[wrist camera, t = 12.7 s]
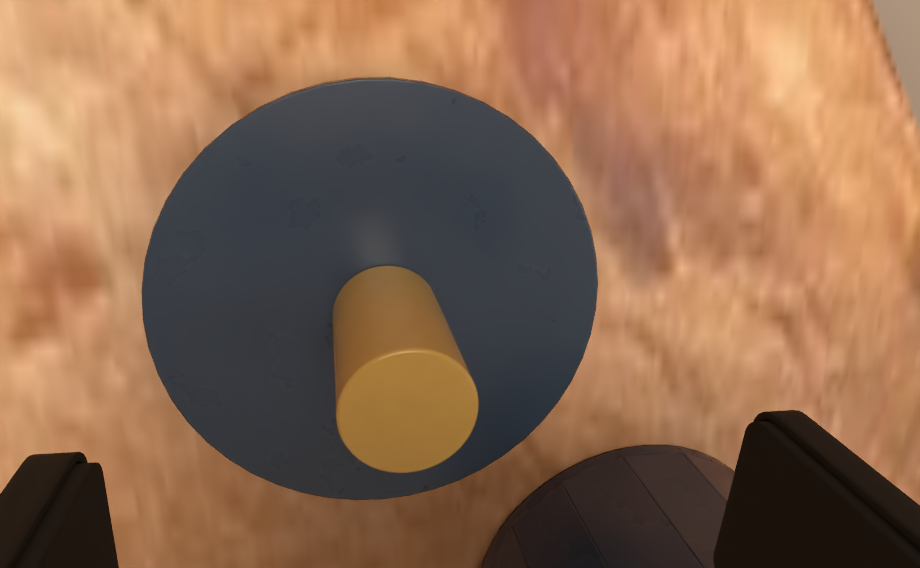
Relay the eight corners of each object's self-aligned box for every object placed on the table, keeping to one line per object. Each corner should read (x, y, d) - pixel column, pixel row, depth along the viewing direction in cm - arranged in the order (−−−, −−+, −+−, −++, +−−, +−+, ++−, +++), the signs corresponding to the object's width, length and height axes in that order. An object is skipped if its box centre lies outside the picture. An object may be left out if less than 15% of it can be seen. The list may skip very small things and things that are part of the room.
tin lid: (174, 492, 19) (112, 682, 13) (125, 62, 15) (3, 73, 9) (560, 463, 21) (645, 613, 16) (609, 87, 17) (748, 108, 12)
